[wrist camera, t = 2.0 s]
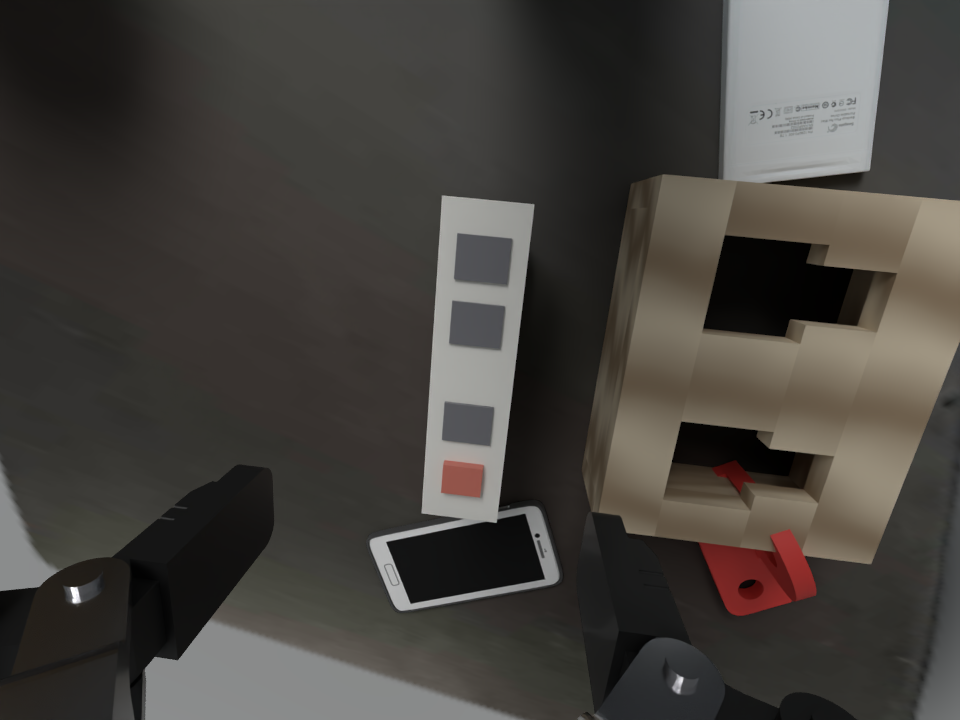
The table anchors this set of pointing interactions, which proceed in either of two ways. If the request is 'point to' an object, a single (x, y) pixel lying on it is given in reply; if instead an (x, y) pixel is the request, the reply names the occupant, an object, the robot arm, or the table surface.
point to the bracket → (757, 565)
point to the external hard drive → (799, 87)
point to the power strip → (474, 353)
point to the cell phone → (466, 558)
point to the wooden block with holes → (772, 365)
